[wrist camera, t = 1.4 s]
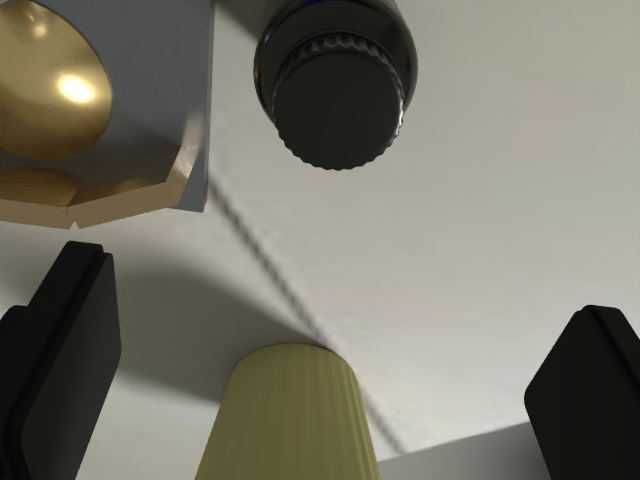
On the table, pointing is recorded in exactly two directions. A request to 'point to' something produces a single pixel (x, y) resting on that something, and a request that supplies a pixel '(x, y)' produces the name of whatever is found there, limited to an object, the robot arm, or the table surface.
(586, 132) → the table surface
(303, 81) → the supplement bottle
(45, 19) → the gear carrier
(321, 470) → the potted cactus
